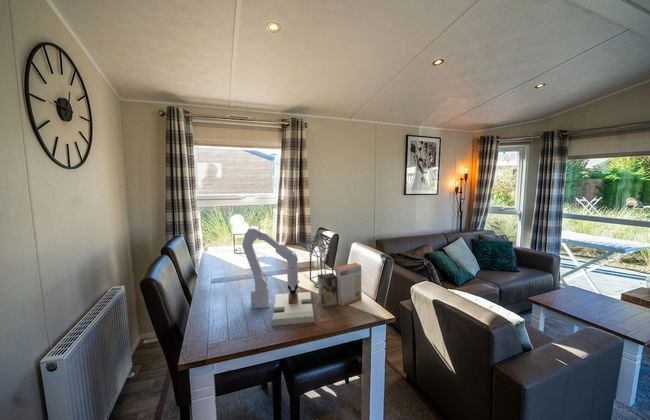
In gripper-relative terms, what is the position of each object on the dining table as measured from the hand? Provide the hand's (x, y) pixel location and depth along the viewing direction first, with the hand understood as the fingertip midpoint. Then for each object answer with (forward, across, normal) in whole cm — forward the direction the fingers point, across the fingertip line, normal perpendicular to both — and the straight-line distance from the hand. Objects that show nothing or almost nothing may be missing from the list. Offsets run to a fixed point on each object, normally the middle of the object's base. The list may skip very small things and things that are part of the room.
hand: (293, 296), depth 138 cm
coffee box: (+3, -5, -19) cm, 20 cm away
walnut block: (+1, -4, 0) cm, 4 cm away
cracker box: (+3, -5, -31) cm, 32 cm away
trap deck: (+3, -8, 0) cm, 8 cm away
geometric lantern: (+3, +18, -18) cm, 26 cm away
